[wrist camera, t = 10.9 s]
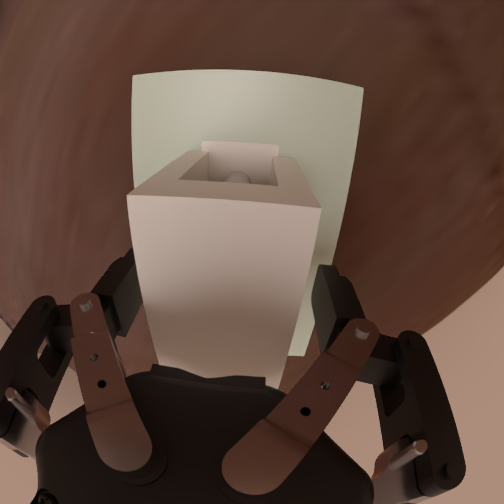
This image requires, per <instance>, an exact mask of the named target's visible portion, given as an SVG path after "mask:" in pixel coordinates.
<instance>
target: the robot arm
mask: <svg viewBox="0 0 504 504" xmlns="http://www.w3.org/2000/svg"><path fill="white" fill-rule="evenodd" d="M357 298H358V297H357V295H356V293H355V290H354V287H353V285H352V283H351V282H350V281H349V280H348V279H347V278H346V277H343V276H339V273H338V270H337V268H336V266H335V265H325V264H319V266H318V268H317V272H316V277H315V281H314V285H313V289H312V294H311V304H312V310H313V315H314V320H315V325H316V331H317V336H318V342H319V348H320V353H321V355H320V356H319V357H318V358H317V360H316V361H315V362H314V363H313V365H312V366H311V367H310V368H309V370H308V371H307V372H306V373H305V374H304V376H303V377H302V378H301V379H300V380H299V381H298V383H297V384H296V385H295V386H294V387H293V388H292V390H291V391H290V392H289V393H288V394H285V393H284V392H282V391H280V390H278V389H276V388H273V387H271V386H267V385H266V377H256V376H242V375H234V376H225V377H216V378H204V377H201V376H199V375H196V374H193V373H190V372H188V371H185V370H183V369H180V368H175V367H169V366H163V365H158V364H153V365H152V368H151V371H147V372H140V373H136V374H133V375H130V376H128V375H127V373H126V370H125V368H124V365H123V362H122V360H121V357H120V354H119V351H118V349H117V346H116V343H115V338H116V336H117V335H118V336H123V337H126V335H127V333H128V331H129V329H130V327H131V325H132V323H133V321H134V319H135V317H136V315H137V313H138V311H139V309H140V307H141V305H142V303H143V299H142V294H141V289H140V284H139V279H138V274H137V268H136V262H135V256H134V250H133V248H131V249H130V250H129V251H128V252H127V253H126V255H125V256H124V257H120V258H119V259H117V260H116V261H114V262H113V263H112V264H111V265H110V267H109V268H108V270H107V271H106V272H105V273H104V276H102V277H101V279H100V280H99V281H98V283H97V284H96V285H95V287H94V288H93V289H92V291H91V292H90V293H83V294H80V295H78V296H77V297H75V298H74V299H73V300H72V302H71V304H69V305H57V304H56V302H55V299H54V298H53V297H51V296H42V297H39V298H37V299H36V300H34V301H33V303H32V304H31V305H30V306H29V308H28V309H27V311H26V312H25V313H24V315H23V316H22V318H21V319H20V321H19V322H18V324H17V325H16V327H15V328H14V330H13V331H12V333H11V334H10V336H9V337H8V339H7V341H6V342H5V344H4V345H3V347H2V349H1V350H0V442H1V443H2V444H3V445H5V446H6V447H8V448H9V449H12V450H13V451H14V452H16V453H17V454H19V455H20V456H23V457H31V458H33V459H35V460H36V464H37V472H38V489H37V493H36V496H35V497H34V499H33V500H32V502H31V503H30V504H416V503H419V502H422V501H424V500H427V499H430V498H432V497H435V496H437V495H440V494H442V493H444V492H447V491H449V490H451V489H453V488H455V487H457V486H458V485H459V484H460V483H461V482H462V480H463V478H464V476H465V472H466V465H465V460H464V455H463V451H462V447H461V443H460V438H459V434H458V431H457V427H456V423H455V420H454V417H453V413H452V410H451V407H450V404H449V401H448V397H447V394H446V392H445V389H444V386H443V383H442V380H441V378H440V375H439V372H438V369H437V367H436V364H435V362H434V359H433V357H432V354H431V352H430V349H429V347H428V345H427V342H426V340H425V339H424V338H423V337H422V336H421V335H420V334H418V333H417V332H414V331H409V330H408V331H403V332H402V333H400V335H399V336H398V338H394V337H390V336H386V335H382V334H380V332H379V329H378V328H377V326H376V325H375V324H374V323H372V322H371V321H369V320H366V318H365V315H364V313H363V310H362V307H361V305H360V302H359V300H358V299H357ZM44 339H45V341H46V343H47V345H46V347H45V348H44V350H43V352H42V354H41V356H40V358H39V360H38V357H37V353H38V349H39V347H40V345H41V344H42V342H43V340H44ZM72 356H73V357H74V362H75V367H76V372H77V376H78V380H79V384H80V388H81V393H82V396H83V400H84V405H82V406H81V407H79V408H77V409H76V410H74V411H73V412H71V413H70V414H68V415H66V416H65V417H63V418H61V419H60V420H58V421H56V422H55V423H53V424H51V425H50V415H49V410H50V407H51V404H52V402H53V400H54V397H55V395H56V392H57V390H58V387H59V385H60V383H61V380H62V378H63V376H64V373H65V371H66V369H67V367H68V365H69V363H70V360H71V358H72ZM356 381H360V382H365V383H369V384H373V388H374V393H375V398H376V403H377V409H378V415H379V420H380V427H381V433H382V440H383V447H384V451H383V452H382V453H381V454H380V455H379V456H378V458H377V459H376V461H375V468H374V473H373V476H372V477H371V478H370V477H369V475H368V474H367V473H366V471H364V469H362V468H361V467H360V466H359V465H358V464H357V463H356V462H355V461H354V460H353V459H352V458H350V456H348V454H346V453H345V452H344V451H343V450H342V449H341V448H340V447H339V446H338V445H337V444H336V443H335V442H334V441H333V440H332V439H331V438H330V437H329V436H328V435H327V434H326V433H325V432H324V429H325V428H326V426H327V425H328V424H329V422H330V421H331V419H332V418H333V416H334V415H335V413H336V412H337V410H338V409H339V407H340V406H341V404H342V403H343V401H344V400H345V398H346V396H347V395H348V393H349V392H350V390H351V388H352V387H353V385H354V383H355V382H356Z"/></svg>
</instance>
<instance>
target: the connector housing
mask: <svg viewBox="0 0 504 504" xmlns="http://www.w3.org/2000/svg"><path fill="white" fill-rule="evenodd" d="M127 205H128V214H129V222H130V230H131V237H132V244H133V250H134V256H135V262H136V268H137V274H138V279H139V284H140V289H141V294H142V299H143V303H144V308H145V312H146V316H147V320H148V325H149V329H150V332H151V336H152V340H153V344H154V348H155V351H156V355H157V358H158V362H159V365H163V366H169V367H175V368H180V369H183V370H185V371H188V372H190V373H193V374H196V375H199V376H201V377H204V378H216V377H225V376H234V375H242V376H256V377H266V385H267V386H271V387H273V388H276V389H278V387H279V384H280V381H281V377H282V374H283V370H284V367H285V363H286V360H287V356H288V353H289V349H290V345H291V342H292V338H293V334H294V331H295V327H296V323H297V319H298V315H299V311H300V307H301V303H302V299H303V295H304V290H305V286H306V282H307V277H308V273H309V269H310V264H311V260H312V255H313V250H314V245H315V241H316V236H317V231H318V226H319V220H320V215H321V210H322V208H321V206H320V204H319V202H318V200H317V199H316V197H315V195H314V193H313V191H312V189H311V187H310V186H309V184H308V182H307V180H306V178H305V176H304V175H303V173H302V171H301V169H300V168H299V166H298V164H297V162H296V161H295V159H294V158H288V157H279V156H273V158H272V168H271V178H270V185H258V184H246V183H232V182H217V181H208V152H207V151H187V152H186V153H184V154H183V155H181V156H180V157H178V158H177V159H175V160H174V161H172V162H171V163H169V164H168V165H166V166H165V167H164V168H162V169H161V170H159V171H158V172H157V173H155V174H154V175H152V176H151V177H150V178H148V179H147V180H146V181H144V182H143V183H142V184H140V185H139V186H138V187H136V188H135V189H134V190H132V191H131V192H130V193H129V194H127Z"/></svg>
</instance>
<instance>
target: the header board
mask: <svg viewBox="0 0 504 504" xmlns="http://www.w3.org/2000/svg"><path fill="white" fill-rule="evenodd" d="M363 91H364V88H362V87H358V86H354V85H350V84H345V83H341V82H336V81H331V80H326V79H320V78H314V77H308V76H301V75H293V74H285V73H276V72H265V71H250V70H183V71H169V72H158V73H148V74H140V75H133V81H132V160H133V177H134V189H135V188H136V187H138V186H139V185H140V184H142V183H143V182H144V181H146V180H147V179H148V178H150V177H151V176H152V175H154V174H155V173H157V172H158V171H159V170H161V169H162V168H164V167H165V166H166V165H168V164H169V163H171V162H172V161H174V160H175V159H177V158H178V157H180V156H181V155H183V154H184V153H186V152H187V151H207V152H208V181H217V182H232V183H246V184H258V185H270V178H271V168H272V158H273V156H279V157H288V158H294V159H295V161H296V162H297V164H298V166H299V168H300V169H301V171H302V173H303V175H304V176H305V178H306V180H307V182H308V184H309V186H310V187H311V189H312V191H313V193H314V195H315V197H316V199H317V200H318V202H319V204H320V206H321V208H322V210H321V215H320V220H319V226H318V231H317V236H316V241H315V245H314V250H313V255H312V260H311V264H310V269H309V273H308V277H307V282H306V286H305V290H304V295H303V299H302V303H301V307H300V311H299V315H298V319H297V323H296V327H295V331H294V334H293V338H292V342H291V345H290V349H289V353H288V356H304V355H305V352H306V349H307V346H308V343H309V340H310V337H311V333H312V330H313V327H314V324H315V320H314V315H313V310H312V304H311V294H312V289H313V285H314V281H315V277H316V272H317V268H318V266H319V264H325V265H331V264H332V261H333V257H334V253H335V249H336V245H337V240H338V236H339V232H340V228H341V223H342V219H343V214H344V209H345V205H346V200H347V195H348V190H349V185H350V179H351V174H352V168H353V163H354V157H355V151H356V144H357V138H358V131H359V124H360V116H361V108H362V100H363Z"/></svg>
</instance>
